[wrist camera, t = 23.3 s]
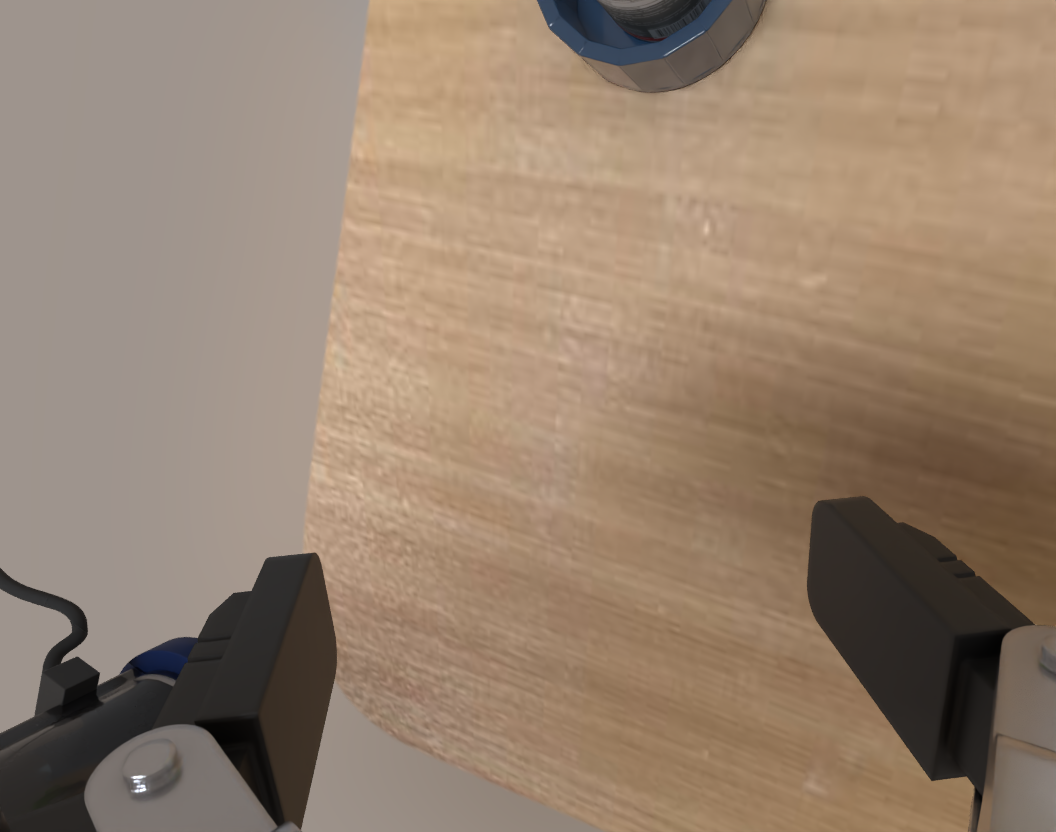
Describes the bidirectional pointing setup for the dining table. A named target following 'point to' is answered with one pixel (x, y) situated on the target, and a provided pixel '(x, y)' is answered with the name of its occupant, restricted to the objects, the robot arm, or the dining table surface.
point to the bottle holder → (652, 63)
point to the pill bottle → (653, 16)
